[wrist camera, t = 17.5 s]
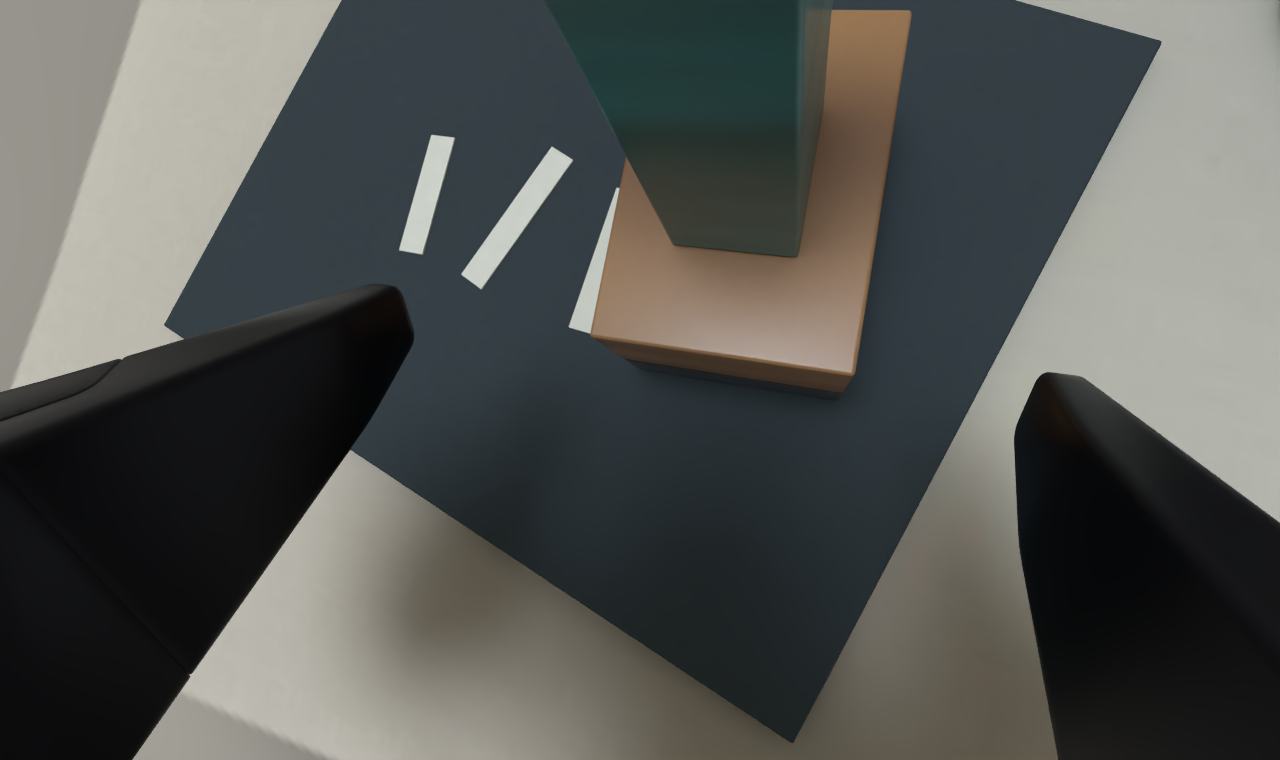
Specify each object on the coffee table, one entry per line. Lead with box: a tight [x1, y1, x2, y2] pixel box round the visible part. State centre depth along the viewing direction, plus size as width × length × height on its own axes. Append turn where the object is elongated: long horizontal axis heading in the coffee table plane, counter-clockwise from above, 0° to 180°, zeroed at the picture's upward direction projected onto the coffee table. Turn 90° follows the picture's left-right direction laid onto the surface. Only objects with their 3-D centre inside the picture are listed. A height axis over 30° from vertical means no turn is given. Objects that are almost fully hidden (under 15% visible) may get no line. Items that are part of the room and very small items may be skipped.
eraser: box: [544, 0, 912, 401], centre depth 9 cm, size 7×5×13 cm
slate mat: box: [164, 0, 1161, 743], centre depth 17 cm, size 18×22×1 cm
